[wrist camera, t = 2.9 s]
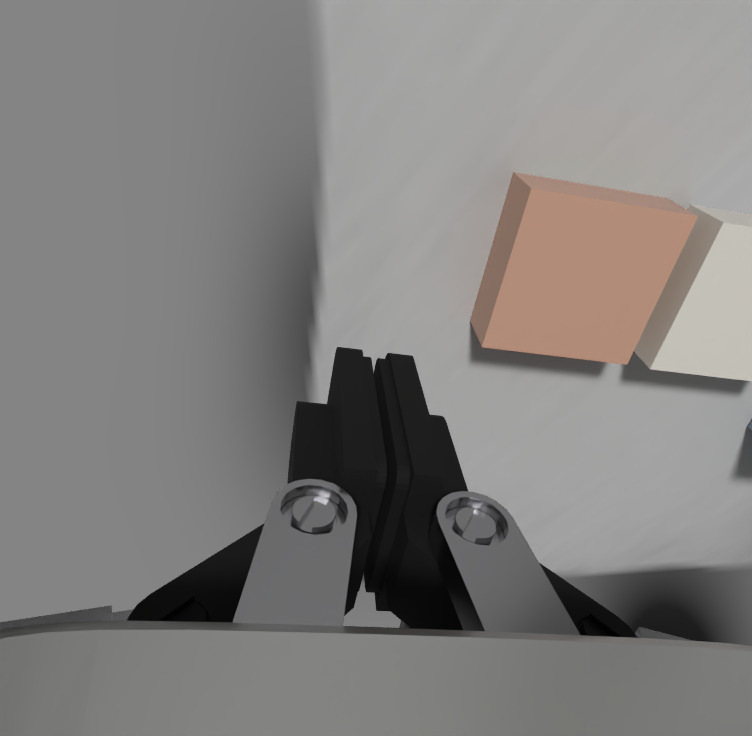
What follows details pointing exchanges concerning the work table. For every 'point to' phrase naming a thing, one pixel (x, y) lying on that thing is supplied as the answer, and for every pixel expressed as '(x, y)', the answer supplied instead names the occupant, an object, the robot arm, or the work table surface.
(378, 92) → the work table surface
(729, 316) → the cream tile
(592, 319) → the terracotta tile
